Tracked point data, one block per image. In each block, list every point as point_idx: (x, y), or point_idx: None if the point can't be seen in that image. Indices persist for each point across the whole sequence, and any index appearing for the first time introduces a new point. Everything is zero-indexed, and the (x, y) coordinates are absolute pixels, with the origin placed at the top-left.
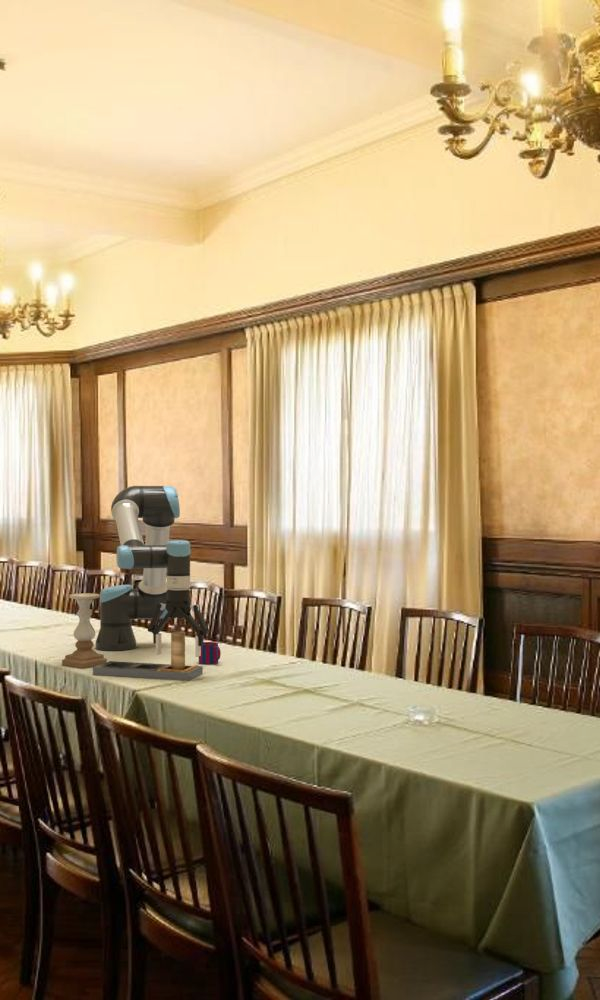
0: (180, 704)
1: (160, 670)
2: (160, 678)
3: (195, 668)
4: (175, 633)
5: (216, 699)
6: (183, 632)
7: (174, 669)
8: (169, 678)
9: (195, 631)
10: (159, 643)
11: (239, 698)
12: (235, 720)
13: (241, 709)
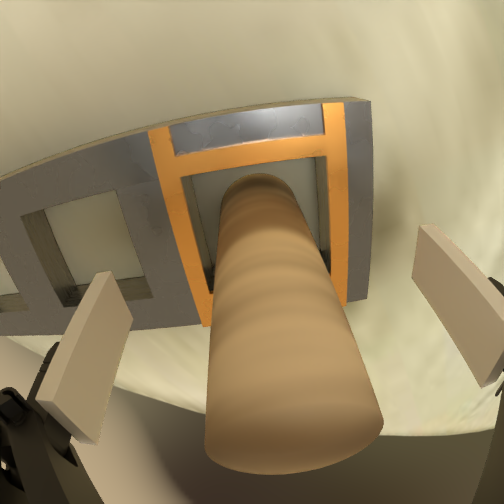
0: (402, 435)
1: None
2: None
3: (360, 185)
4: (295, 470)
5: (461, 390)
6: (359, 421)
7: None
8: None
9: (498, 421)
10: (101, 358)
11: None
12: (475, 429)
13: (489, 402)
